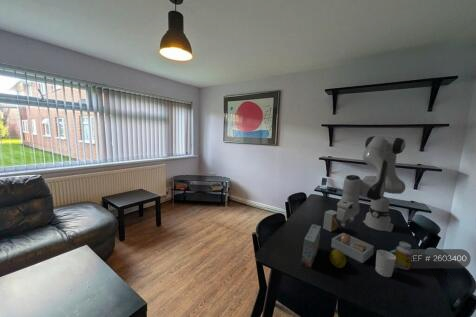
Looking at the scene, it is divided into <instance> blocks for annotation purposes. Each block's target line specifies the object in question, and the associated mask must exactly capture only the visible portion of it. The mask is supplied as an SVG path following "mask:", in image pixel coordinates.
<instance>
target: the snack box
mask: <svg viewBox="0 0 476 317" xmlns="http://www.w3.org/2000/svg"><path fill="white" fill-rule="evenodd" d="M321 230H322V226H321V225H317V224H314V223H313V224H311V226H310V228H309V230H308V232H307V234H306V235H305V237H304V240H303V246H302V247H303V249H302V256H301V266H304V267H306V268H308V269H311V268H312V267H313V264H314V261H315V258H316V256H317V253H318V251H319V245H320V237H321V236H320V235H321Z"/></svg>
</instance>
